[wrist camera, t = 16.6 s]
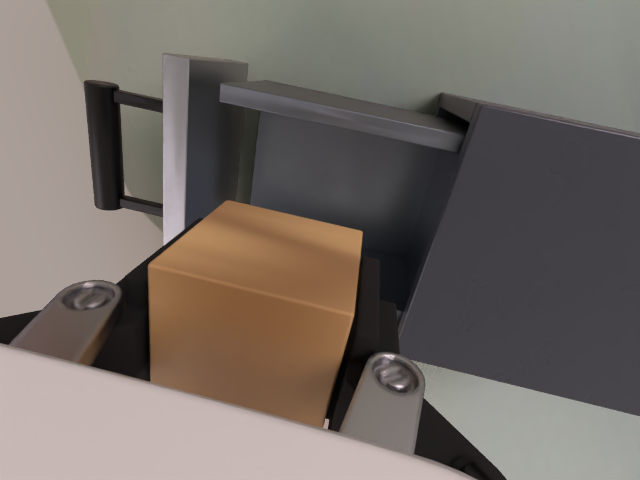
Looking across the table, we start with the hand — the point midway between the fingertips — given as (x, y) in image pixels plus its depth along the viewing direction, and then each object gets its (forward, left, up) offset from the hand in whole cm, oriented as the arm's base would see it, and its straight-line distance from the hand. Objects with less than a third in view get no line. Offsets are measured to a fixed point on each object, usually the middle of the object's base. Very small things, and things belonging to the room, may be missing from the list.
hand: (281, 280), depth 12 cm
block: (0, 0, 0) cm, 0 cm away
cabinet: (+10, -9, -15) cm, 20 cm away
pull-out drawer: (-2, +2, -14) cm, 14 cm away
